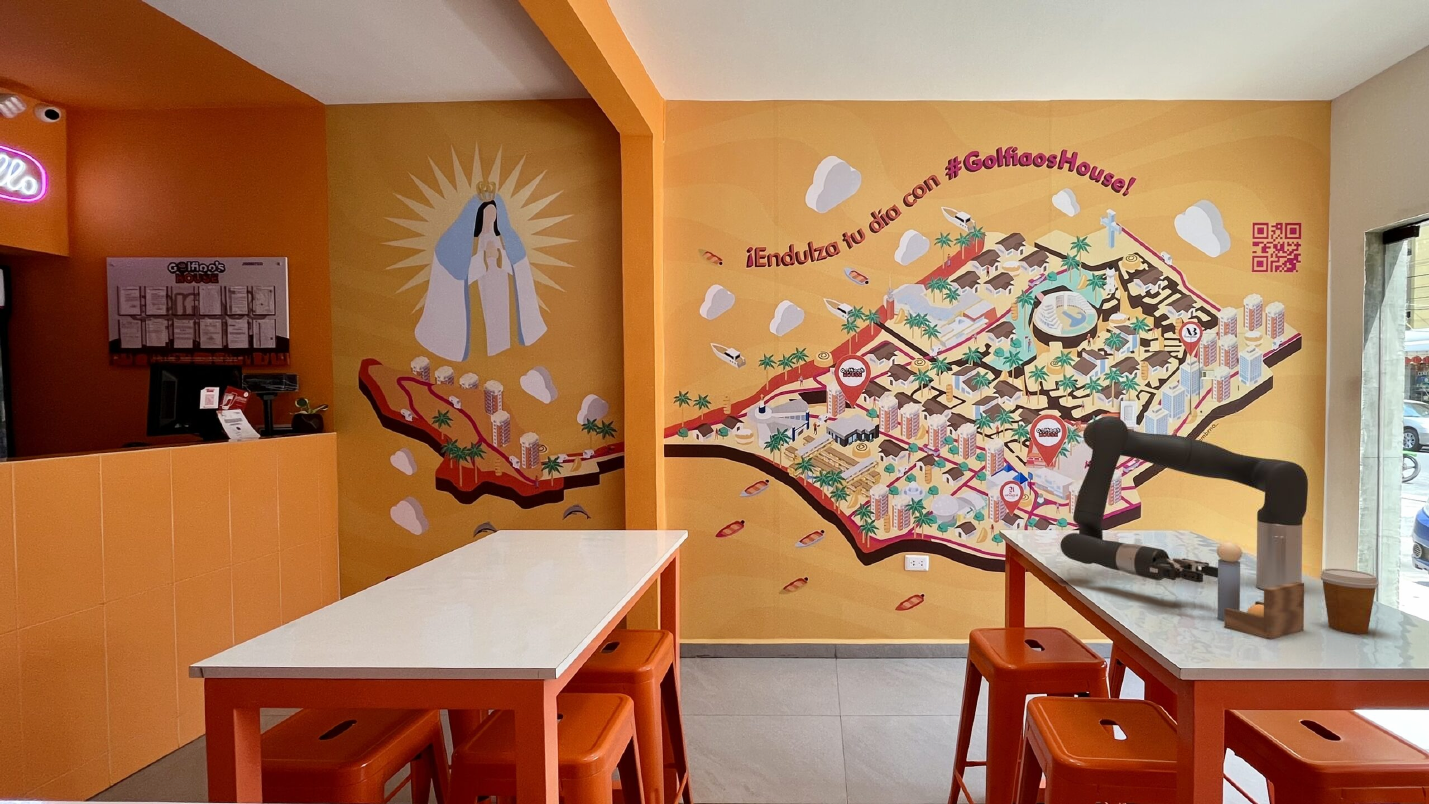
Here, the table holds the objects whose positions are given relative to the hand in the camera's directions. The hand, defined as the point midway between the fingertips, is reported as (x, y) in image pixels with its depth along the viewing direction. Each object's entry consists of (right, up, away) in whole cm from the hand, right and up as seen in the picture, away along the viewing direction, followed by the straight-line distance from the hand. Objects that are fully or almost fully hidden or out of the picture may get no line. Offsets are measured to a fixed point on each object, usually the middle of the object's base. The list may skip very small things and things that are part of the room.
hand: (1213, 575), depth 164 cm
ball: (+4, -7, -9) cm, 12 cm away
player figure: (+1, -9, -3) cm, 10 cm away
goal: (+5, -9, -9) cm, 13 cm away
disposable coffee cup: (+23, -9, -9) cm, 26 cm away
